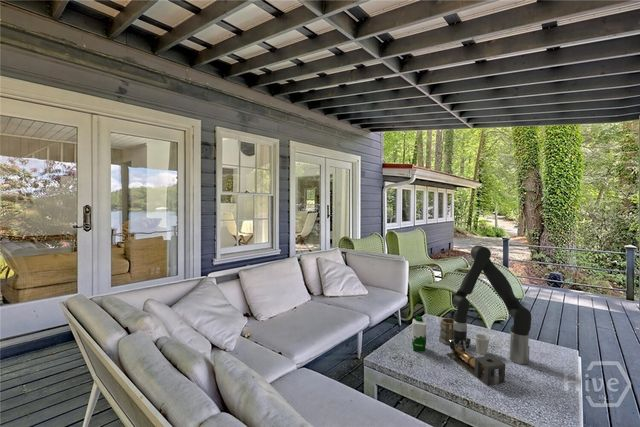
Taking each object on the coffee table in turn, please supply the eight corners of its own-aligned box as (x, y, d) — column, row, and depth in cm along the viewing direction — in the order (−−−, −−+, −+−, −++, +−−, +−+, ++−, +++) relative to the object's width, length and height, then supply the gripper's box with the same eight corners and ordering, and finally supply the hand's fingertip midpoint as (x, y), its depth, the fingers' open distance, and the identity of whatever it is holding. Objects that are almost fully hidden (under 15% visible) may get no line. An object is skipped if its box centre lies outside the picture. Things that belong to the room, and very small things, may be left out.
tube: (451, 354, 200) (451, 346, 199) (458, 353, 201) (458, 345, 201) (477, 372, 178) (477, 363, 178) (484, 371, 180) (485, 362, 179)
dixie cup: (480, 348, 208) (481, 333, 208) (492, 354, 201) (492, 338, 200) (471, 350, 205) (471, 335, 205) (482, 356, 197) (482, 340, 197)
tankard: (439, 335, 227) (439, 314, 226) (458, 338, 222) (459, 317, 221) (438, 348, 208) (439, 325, 207) (459, 351, 204) (460, 328, 203)
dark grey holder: (445, 354, 200) (446, 338, 199) (461, 352, 203) (462, 336, 202) (487, 386, 167) (488, 367, 166) (505, 383, 170) (506, 364, 169)
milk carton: (425, 346, 211) (425, 316, 209) (426, 353, 202) (427, 321, 201) (411, 344, 213) (411, 315, 211) (411, 351, 204) (412, 320, 203)
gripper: (465, 324, 201) (465, 351, 202) (446, 327, 197) (445, 354, 198) (474, 329, 194) (473, 357, 195) (454, 332, 190) (453, 360, 191)
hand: (459, 355), depth 196 cm, fingers closed on tube, 5 cm apart
